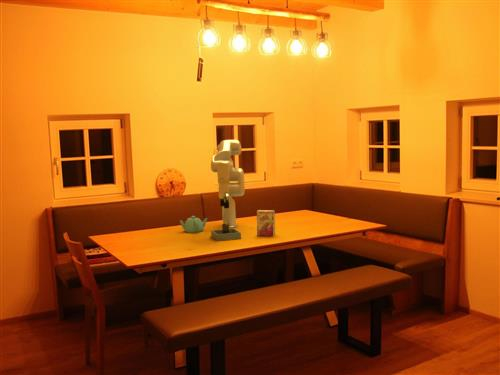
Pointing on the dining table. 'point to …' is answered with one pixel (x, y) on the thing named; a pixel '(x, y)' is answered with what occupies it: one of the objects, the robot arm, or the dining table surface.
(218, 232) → the trough
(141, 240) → the dining table surface
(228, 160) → the robot arm
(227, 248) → the dining table surface
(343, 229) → the dining table surface
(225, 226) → the battery cell
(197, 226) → the teapot
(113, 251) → the dining table surface
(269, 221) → the candy bar box
